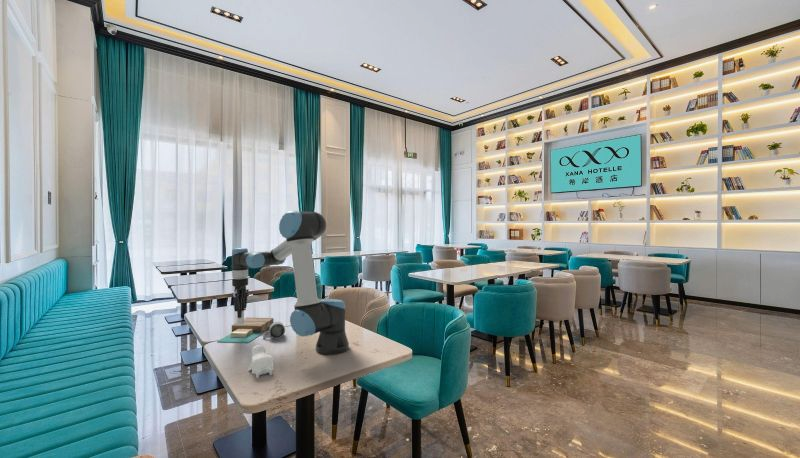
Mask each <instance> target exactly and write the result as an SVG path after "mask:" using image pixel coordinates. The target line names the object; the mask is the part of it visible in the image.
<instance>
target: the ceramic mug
mask: <svg viewBox="0 0 800 458" xmlns="http://www.w3.org/2000/svg"><path fill="white" fill-rule="evenodd" d="M268 329H269V330H268V331H266V332H264V334H262V337H263V339H267V338H269V337H270V338H272V339H274V340H278V339H279V340H280V339H281V338H282V337H283V336H284V335H285V333H286V328H285V325H284V324H283V323H282V322H281V321H274V323H272V324H271V326H270V328H268Z"/></svg>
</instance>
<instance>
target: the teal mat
mask: <svg viewBox="0 0 800 458" xmlns="http://www.w3.org/2000/svg"><path fill="white" fill-rule="evenodd" d="M261 335H263V332H262V333H252V334H250V335H249V336H247V337H231V333H230V334H228V335H226V336H225V337H223V338H221V339H218V340H217V342H216V343H234V344H235V343H237V344H238V343H239V344H250V343H251V342H252V341H254V340H255V339H257V338H258V337H260V336H261Z"/></svg>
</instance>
